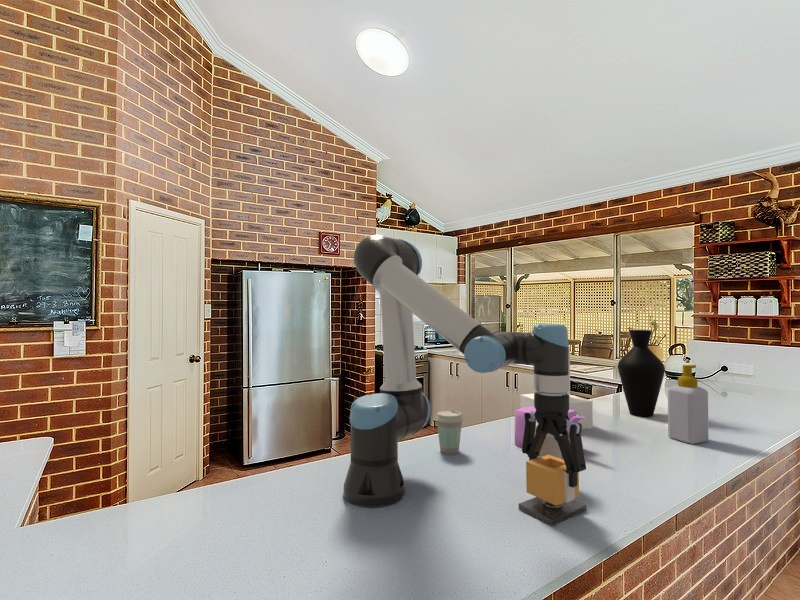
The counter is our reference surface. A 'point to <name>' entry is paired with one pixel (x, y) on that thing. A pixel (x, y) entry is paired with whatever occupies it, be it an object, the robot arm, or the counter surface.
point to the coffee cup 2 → (549, 446)
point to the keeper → (551, 510)
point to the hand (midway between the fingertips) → (552, 493)
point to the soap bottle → (688, 409)
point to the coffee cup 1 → (449, 431)
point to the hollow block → (547, 479)
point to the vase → (641, 375)
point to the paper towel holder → (575, 403)
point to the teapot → (520, 412)
